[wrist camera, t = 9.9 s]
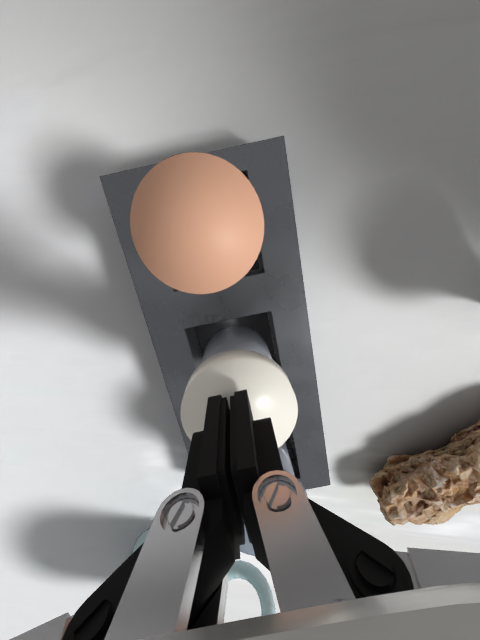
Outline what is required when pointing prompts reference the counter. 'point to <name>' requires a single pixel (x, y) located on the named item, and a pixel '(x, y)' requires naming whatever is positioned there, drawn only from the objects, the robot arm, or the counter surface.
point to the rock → (431, 481)
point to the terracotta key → (197, 223)
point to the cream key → (240, 382)
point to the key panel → (237, 298)
